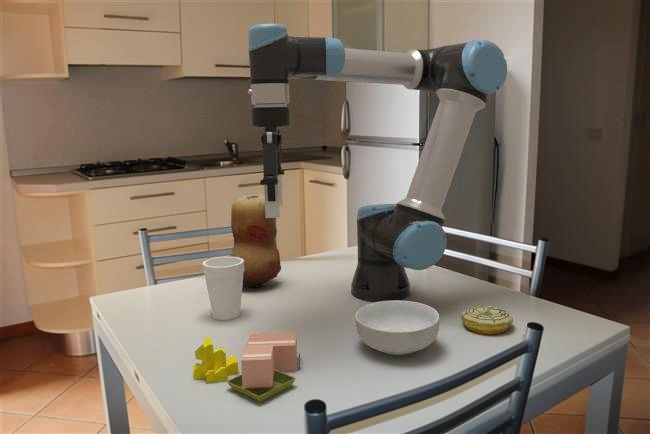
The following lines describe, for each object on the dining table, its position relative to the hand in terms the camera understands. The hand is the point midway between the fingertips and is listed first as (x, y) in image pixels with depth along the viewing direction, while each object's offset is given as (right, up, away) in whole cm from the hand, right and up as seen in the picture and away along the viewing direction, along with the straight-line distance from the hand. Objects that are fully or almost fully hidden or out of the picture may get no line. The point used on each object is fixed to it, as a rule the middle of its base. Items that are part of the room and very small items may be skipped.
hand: (274, 211), depth 118 cm
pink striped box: (+1, -29, -10) cm, 31 cm away
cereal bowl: (+25, -28, -3) cm, 37 cm away
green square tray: (-1, -32, -18) cm, 36 cm away
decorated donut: (+46, -25, +6) cm, 53 cm away
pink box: (-1, -29, -19) cm, 35 cm away
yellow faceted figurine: (-10, -30, -13) cm, 34 cm away
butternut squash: (-8, -20, +38) cm, 44 cm away
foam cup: (-13, -24, +17) cm, 32 cm away
